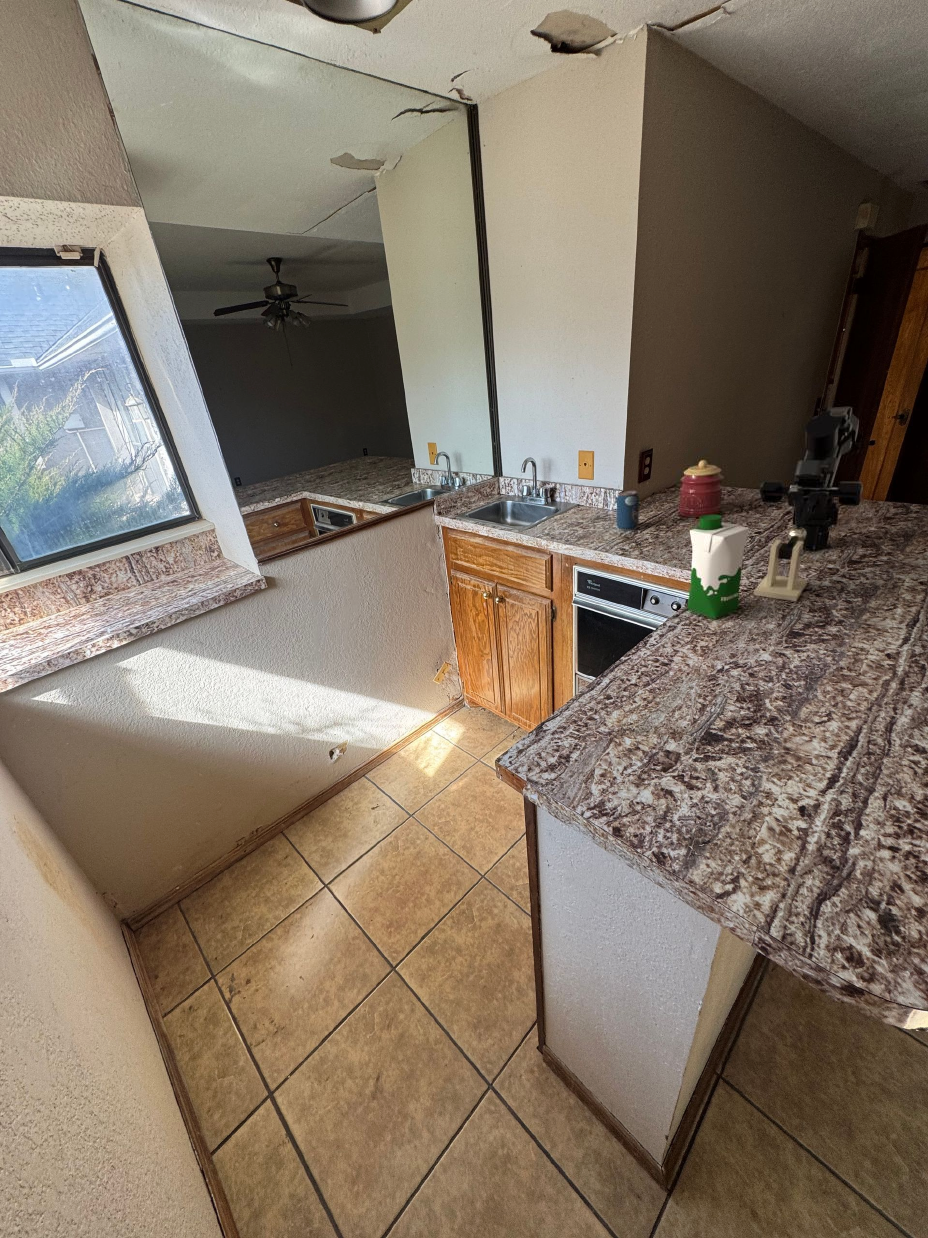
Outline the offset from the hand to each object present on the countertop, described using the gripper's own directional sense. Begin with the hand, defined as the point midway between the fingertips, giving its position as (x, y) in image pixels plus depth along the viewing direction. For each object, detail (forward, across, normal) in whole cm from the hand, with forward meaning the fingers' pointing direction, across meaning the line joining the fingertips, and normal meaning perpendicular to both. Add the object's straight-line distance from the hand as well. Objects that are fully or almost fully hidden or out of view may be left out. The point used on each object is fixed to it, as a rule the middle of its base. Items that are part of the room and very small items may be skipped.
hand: (798, 526), depth 107 cm
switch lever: (+6, 0, 0) cm, 6 cm away
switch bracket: (+15, 0, +2) cm, 15 cm away
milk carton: (+26, -9, -9) cm, 29 cm away
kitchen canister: (-25, -37, +42) cm, 61 cm away
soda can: (-9, -52, +26) cm, 59 cm away
